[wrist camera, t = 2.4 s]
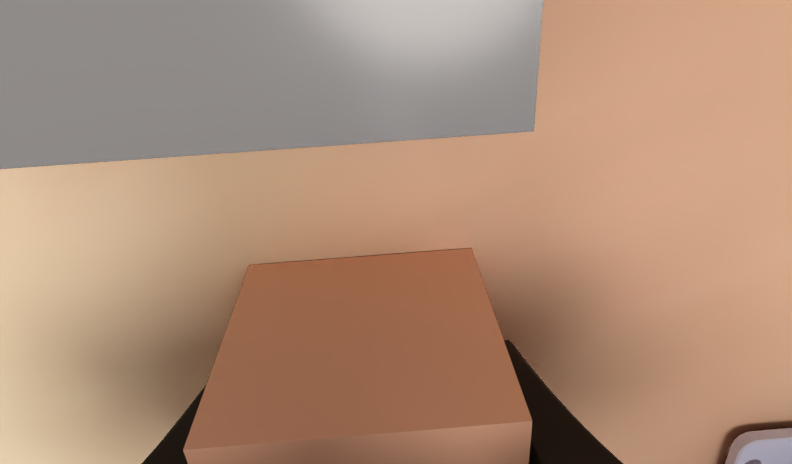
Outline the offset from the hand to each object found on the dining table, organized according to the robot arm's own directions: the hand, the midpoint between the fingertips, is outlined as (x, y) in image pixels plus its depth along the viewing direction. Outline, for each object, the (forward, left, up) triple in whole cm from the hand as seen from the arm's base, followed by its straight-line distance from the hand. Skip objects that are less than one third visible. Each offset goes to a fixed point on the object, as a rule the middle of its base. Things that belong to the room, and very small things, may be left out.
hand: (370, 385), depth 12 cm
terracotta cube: (0, 0, -1) cm, 1 cm away
